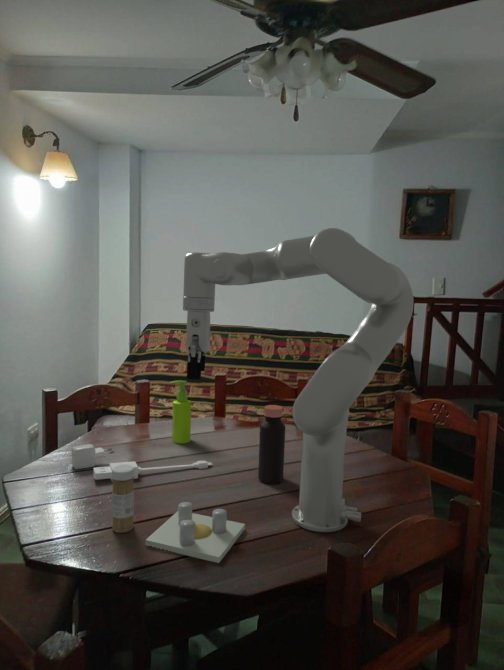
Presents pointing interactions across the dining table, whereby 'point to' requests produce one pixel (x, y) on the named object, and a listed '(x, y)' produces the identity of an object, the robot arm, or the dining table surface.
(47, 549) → the dining table surface
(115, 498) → the sprinkles bottle
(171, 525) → the pin board
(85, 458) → the power adapter
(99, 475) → the charging cable
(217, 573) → the dining table surface
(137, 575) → the dining table surface
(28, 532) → the dining table surface
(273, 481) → the vinegar
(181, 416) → the soap dispenser
